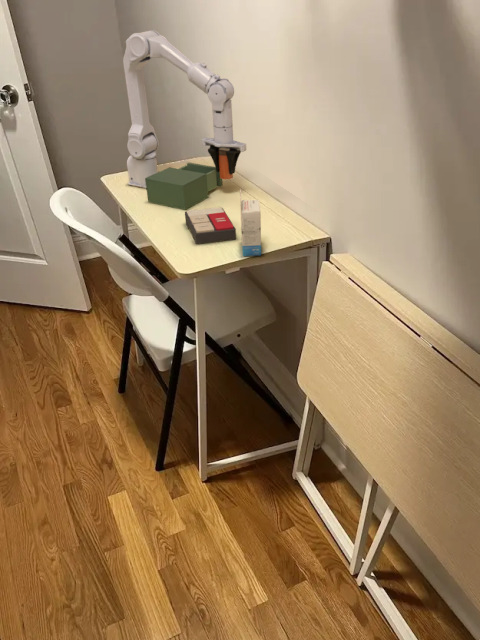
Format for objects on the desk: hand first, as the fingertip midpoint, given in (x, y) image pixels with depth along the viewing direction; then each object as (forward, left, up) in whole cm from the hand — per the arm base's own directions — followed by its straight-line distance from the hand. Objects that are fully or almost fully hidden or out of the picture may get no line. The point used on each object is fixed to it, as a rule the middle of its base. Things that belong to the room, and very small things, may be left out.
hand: (225, 172), depth 177 cm
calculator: (+12, -28, -7) cm, 31 cm away
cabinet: (-11, -12, -7) cm, 17 cm away
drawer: (-11, 0, -6) cm, 12 cm away
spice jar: (0, 0, -2) cm, 2 cm away
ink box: (+28, -33, -7) cm, 44 cm away
